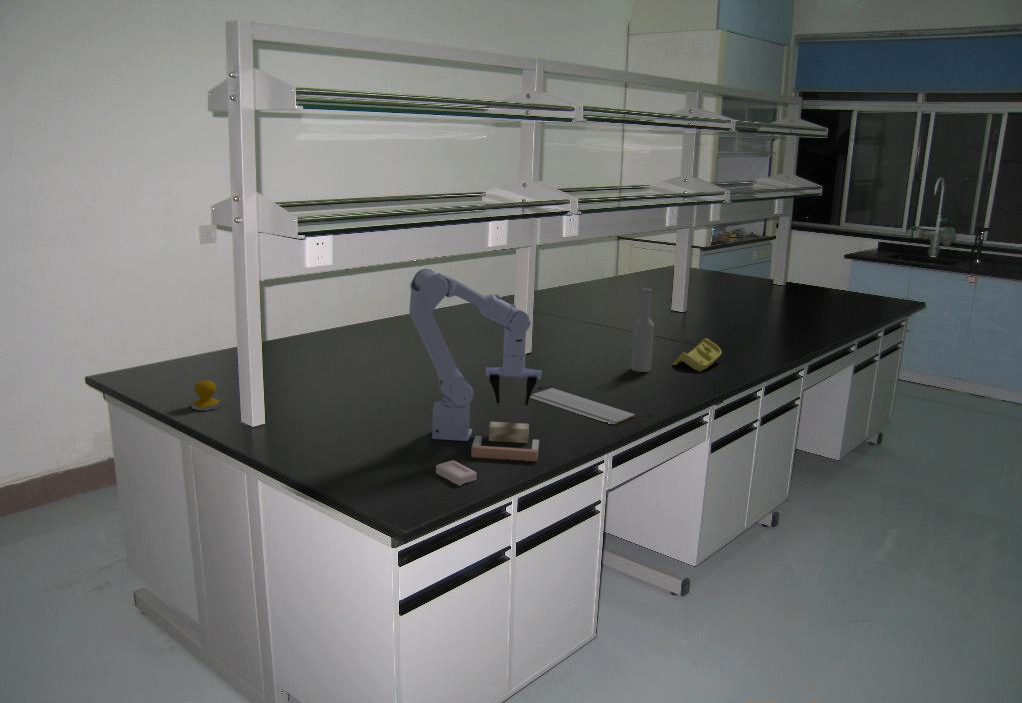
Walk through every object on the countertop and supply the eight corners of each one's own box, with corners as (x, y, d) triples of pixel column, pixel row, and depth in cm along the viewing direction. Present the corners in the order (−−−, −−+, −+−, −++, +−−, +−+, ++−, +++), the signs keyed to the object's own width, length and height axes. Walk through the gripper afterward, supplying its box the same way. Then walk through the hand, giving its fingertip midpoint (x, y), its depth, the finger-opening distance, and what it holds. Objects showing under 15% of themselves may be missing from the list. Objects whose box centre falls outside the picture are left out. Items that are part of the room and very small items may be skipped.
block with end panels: (471, 457, 195) (471, 447, 194) (475, 444, 202) (475, 435, 202) (536, 461, 193) (537, 452, 193) (538, 449, 201) (539, 439, 200)
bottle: (634, 373, 269) (641, 291, 261) (628, 367, 275) (634, 287, 267) (653, 372, 270) (660, 291, 263) (646, 367, 276) (653, 287, 269)
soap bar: (453, 468, 189) (453, 458, 188) (477, 481, 182) (477, 471, 182) (434, 473, 185) (435, 464, 185) (458, 487, 179) (459, 477, 178)
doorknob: (195, 413, 216) (187, 405, 222) (225, 408, 221) (216, 400, 227) (194, 387, 214) (185, 379, 220) (224, 382, 219) (214, 375, 225)
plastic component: (704, 366, 271) (680, 349, 275) (693, 383, 275) (670, 366, 279) (725, 351, 287) (702, 335, 290) (715, 366, 290) (693, 351, 294)
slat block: (488, 441, 205) (489, 426, 204) (490, 435, 209) (490, 421, 208) (527, 443, 205) (528, 429, 204) (528, 438, 209) (529, 423, 208)
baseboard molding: (609, 429, 218) (634, 419, 227) (610, 419, 218) (635, 409, 226) (525, 400, 239) (551, 392, 247) (525, 391, 238) (552, 383, 246)
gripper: (542, 351, 212) (540, 399, 216) (488, 348, 213) (487, 396, 217) (541, 358, 205) (539, 408, 209) (485, 355, 206) (484, 405, 210)
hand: (512, 403), depth 212 cm, fingers open, 7 cm apart
